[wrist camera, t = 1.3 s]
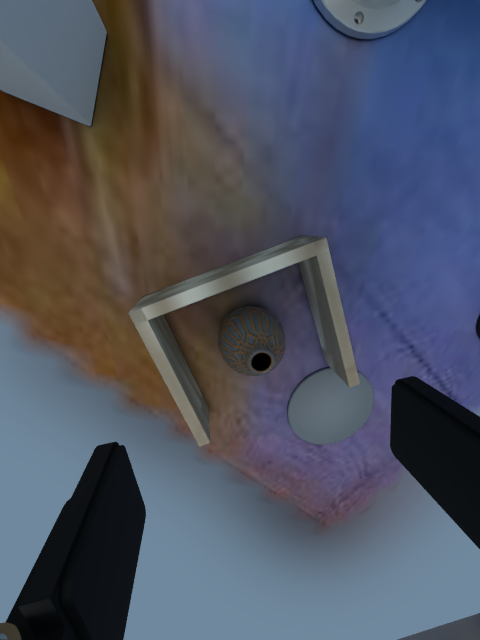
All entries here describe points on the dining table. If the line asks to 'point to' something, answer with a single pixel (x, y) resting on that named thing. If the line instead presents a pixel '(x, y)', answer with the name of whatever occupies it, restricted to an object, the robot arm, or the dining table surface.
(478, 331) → the bottle
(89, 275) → the dining table surface
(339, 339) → the holder
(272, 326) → the vase
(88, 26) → the milk carton
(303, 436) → the mat
